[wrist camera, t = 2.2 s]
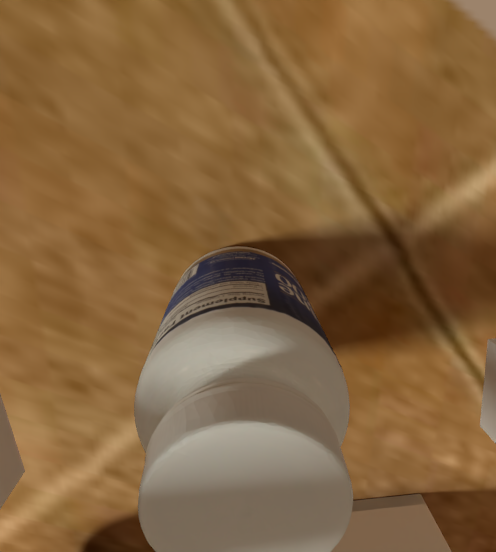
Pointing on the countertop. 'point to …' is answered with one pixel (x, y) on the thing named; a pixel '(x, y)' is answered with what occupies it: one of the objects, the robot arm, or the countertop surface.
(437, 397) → the countertop surface
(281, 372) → the pill bottle
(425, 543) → the drop box
